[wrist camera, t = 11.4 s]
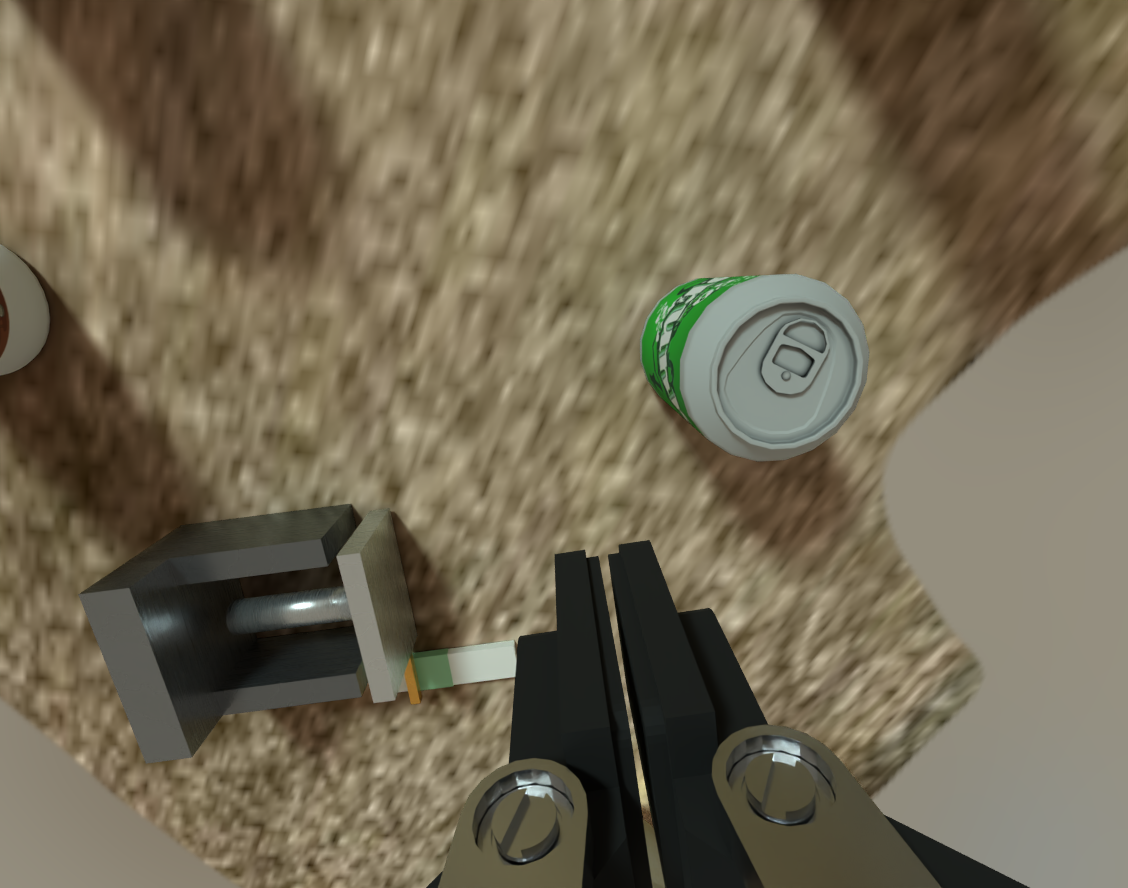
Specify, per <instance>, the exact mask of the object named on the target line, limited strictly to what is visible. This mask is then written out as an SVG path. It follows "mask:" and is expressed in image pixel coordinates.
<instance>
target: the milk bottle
mask: <svg viewBox="0 0 1128 888" xmlns="http://www.w3.org/2000/svg"><path fill="white" fill-rule="evenodd" d="M49 325H50V314H49V305H48V302H47V299H46V296H45V293H44V290H43V289H42V287H41V285H40V283H39V281H38V279H37V278H36V276H35V275H34V274H33V273H32V271H31V270H30V269H29V267H28V266H27V265H26V264H25V263H24V262H23V261H22V260H21V259H20V258H19V257H18V256H17V255H16V254H14V253H13V252H11V251H10V250H8V249H7V248H6V247H4V246H3V245H1V244H0V375H5V374H9V373H12V372H14V371H17V370H19V369H21V368H22V367H24V366H25V365H27V364H28V363H29V362H30V361H32V360H33V359H34V358H35V357H36V356H37V355H38V354H39V353H40V351H41V349H42V347H43V346H44V344H45V343H46V339H47V336H48V333H49Z"/></svg>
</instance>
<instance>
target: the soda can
mask: <svg viewBox="0 0 1128 888" xmlns="http://www.w3.org/2000/svg"><path fill="white" fill-rule="evenodd" d="M868 360H869V349H868V345H867V340H866V335H865V331H864V326H863V324H862V322H861V320H860V319H859V317H858V316H857V314H856V312H855V311H854V309H853V308H852V306H851V304H850V303H849V301H848V300H847V299H846V298H844V297H843V296H842V295H840V294H839V293H838V292H836V291H835V290H834V289H833V288H831V287H830V286H829V285H827V284H826V283H824V282H821V281H818V280H815V279H811V278H808V277H805V276H801V275H798V274H782V275H761V276H741V277H720V278H700V279H694V280H692V281H689V282H687V283H684V284H681V285H679V286H676V287H675V288H674V289H672V290H671V291H670V292H669V293H667V294H666V295H665V296H664V297H662V298H661V299H660V300H659V301H658V302H657V304H656V305H655V307H654V308H653V310H652V311H651V313H650V314H649V316H648V317H647V319H646V322H645V325H644V328H643V332H642V335H641V338H640V361H641V364H642V367H643V370H644V373H645V376H646V379H647V381H648V382H649V383H650V385H651V386H652V387H653V389H654V390H655V391H656V393H657V394H658V395H659V396H660V397H661V398H662V399H663V400H664V401H665V402H666V403H668V404H669V405H670V406H671V407H672V408H673V409H674V410H675V411H677V412H678V413H679V414H680V415H681V416H682V417H683V418H684V419H685V420H687V421H688V422H689V423H690V424H691V425H692V426H693V427H694V428H695V429H697V430H698V431H699V432H700V433H701V434H702V435H703V436H704V437H705V438H707V439H708V440H709V441H711V442H712V443H714V444H715V445H717V446H718V447H720V448H721V449H723V450H724V451H726V452H727V453H729V454H731V455H734V456H738V457H742V458H746V459H750V460H754V461H775V460H787V459H789V458H792V457H795V456H798V455H800V454H803V453H806V452H809V451H811V450H813V449H815V448H816V447H817V446H819V445H820V444H822V443H823V442H824V441H826V440H827V439H828V438H830V437H831V436H833V435H834V434H835V433H837V431H838V430H839V429H840V427H841V426H842V425H843V424H844V422H845V421H846V420H847V419H848V417H849V416H850V415H851V414H852V412H853V411H854V410H855V408H856V405H857V403H858V401H859V398H860V396H861V393H862V391H863V389H864V386H865V384H866V380H867V370H868Z"/></svg>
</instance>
